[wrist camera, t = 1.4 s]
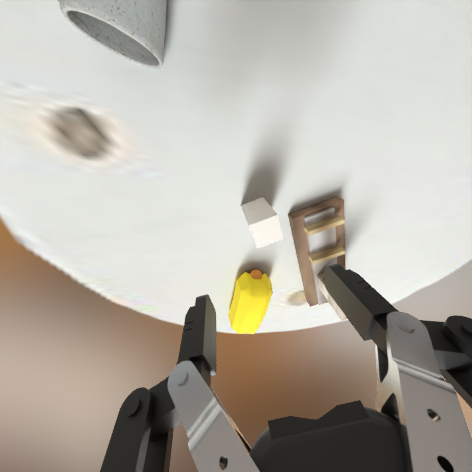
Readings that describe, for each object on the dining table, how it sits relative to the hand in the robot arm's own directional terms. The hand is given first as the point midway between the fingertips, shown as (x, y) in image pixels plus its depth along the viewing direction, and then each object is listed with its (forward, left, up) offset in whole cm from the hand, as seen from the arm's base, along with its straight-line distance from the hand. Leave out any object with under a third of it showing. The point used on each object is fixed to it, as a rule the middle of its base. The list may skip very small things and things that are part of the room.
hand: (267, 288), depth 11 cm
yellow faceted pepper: (+6, +23, -20) cm, 31 cm away
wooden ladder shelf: (-12, +19, -20) cm, 30 cm away
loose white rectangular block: (-2, +3, -20) cm, 20 cm away
